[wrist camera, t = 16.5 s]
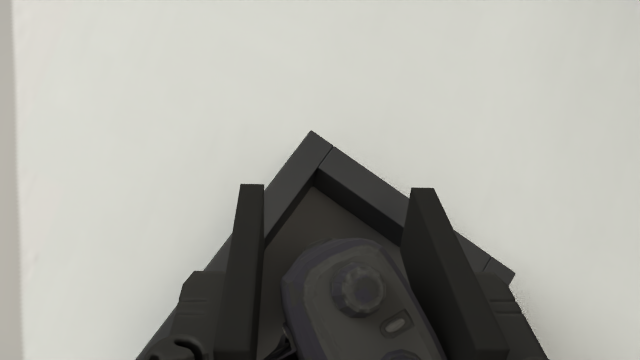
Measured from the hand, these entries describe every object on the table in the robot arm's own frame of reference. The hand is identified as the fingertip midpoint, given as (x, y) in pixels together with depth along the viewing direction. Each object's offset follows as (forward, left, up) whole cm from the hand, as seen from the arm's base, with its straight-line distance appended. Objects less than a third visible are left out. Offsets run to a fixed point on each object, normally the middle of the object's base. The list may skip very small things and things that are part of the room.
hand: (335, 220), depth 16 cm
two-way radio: (+2, -3, -5) cm, 7 cm away
